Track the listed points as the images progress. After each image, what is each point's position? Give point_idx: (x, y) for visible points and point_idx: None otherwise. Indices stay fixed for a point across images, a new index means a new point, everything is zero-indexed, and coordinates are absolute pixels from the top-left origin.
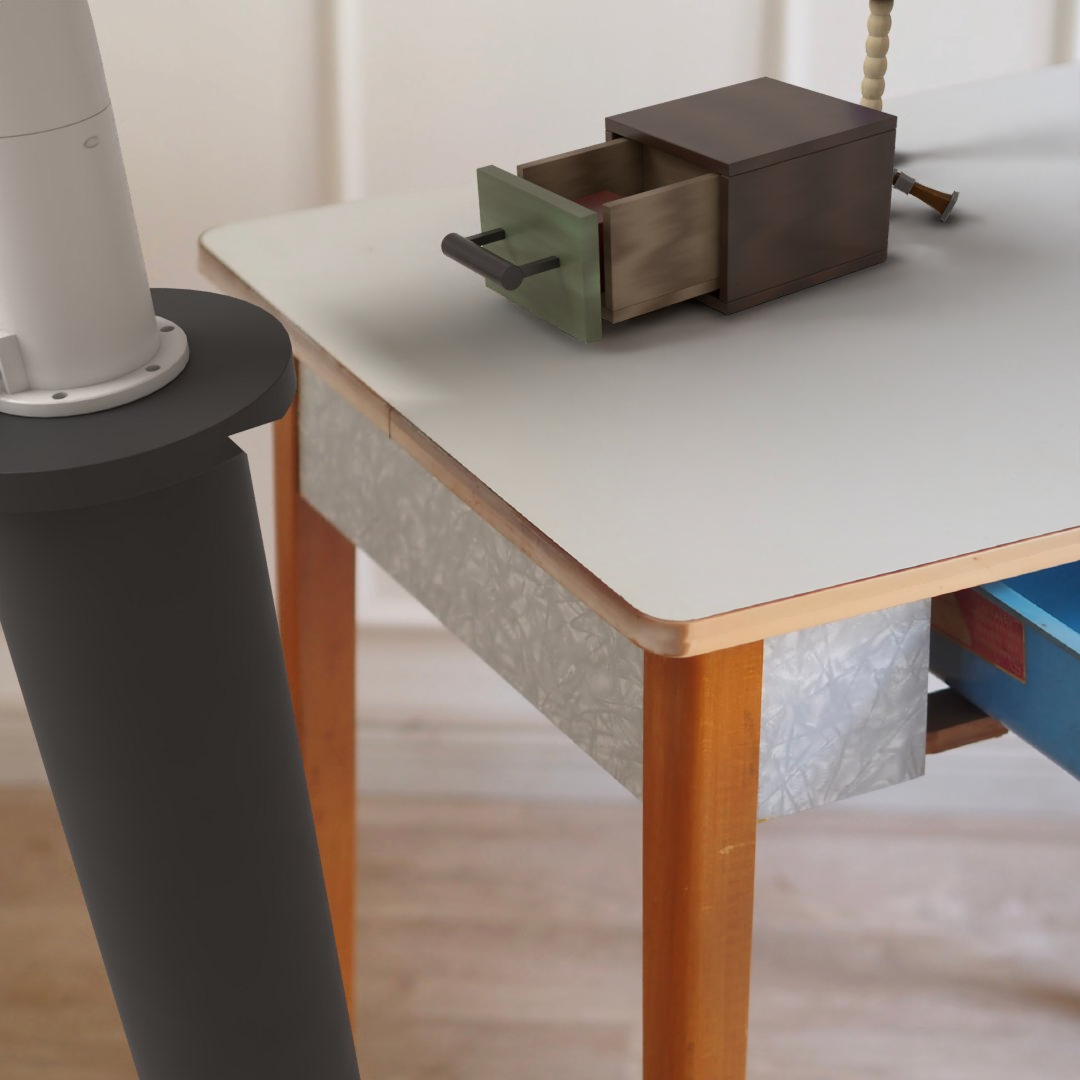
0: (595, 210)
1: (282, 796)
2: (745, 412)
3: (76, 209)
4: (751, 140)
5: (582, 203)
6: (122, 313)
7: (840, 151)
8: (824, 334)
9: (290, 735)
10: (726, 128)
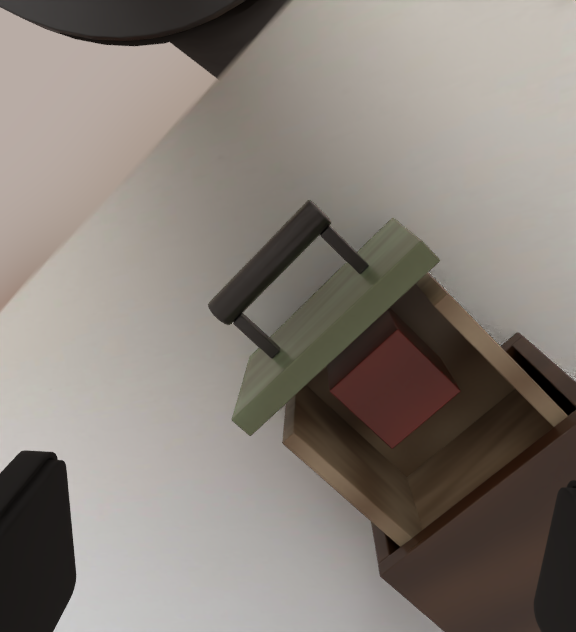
0: (382, 390)
1: (199, 54)
2: (166, 492)
3: None
4: (473, 594)
5: (408, 370)
6: None
7: None
8: (325, 543)
9: (219, 49)
10: (528, 563)
